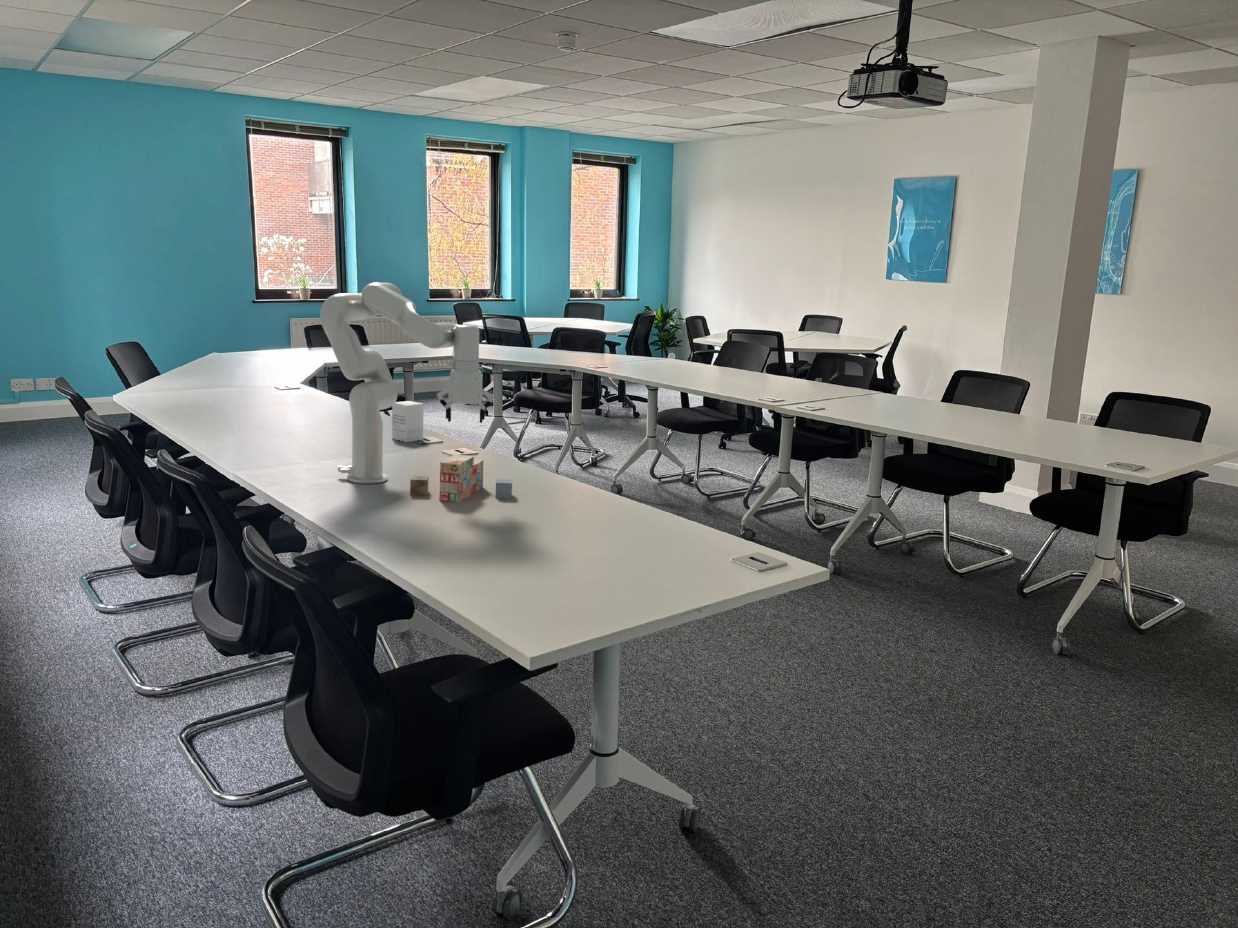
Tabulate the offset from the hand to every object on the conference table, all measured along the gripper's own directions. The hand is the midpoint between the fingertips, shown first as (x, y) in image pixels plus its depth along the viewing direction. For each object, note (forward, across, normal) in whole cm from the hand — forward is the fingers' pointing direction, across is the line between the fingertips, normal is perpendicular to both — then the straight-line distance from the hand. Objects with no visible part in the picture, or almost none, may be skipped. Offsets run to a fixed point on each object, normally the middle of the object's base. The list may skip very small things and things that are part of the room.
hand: (465, 421), depth 272 cm
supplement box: (+22, -27, +83) cm, 90 cm away
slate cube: (+23, +12, -1) cm, 26 cm away
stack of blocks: (+23, -1, +1) cm, 23 cm away
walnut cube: (+23, -14, -1) cm, 27 cm away
